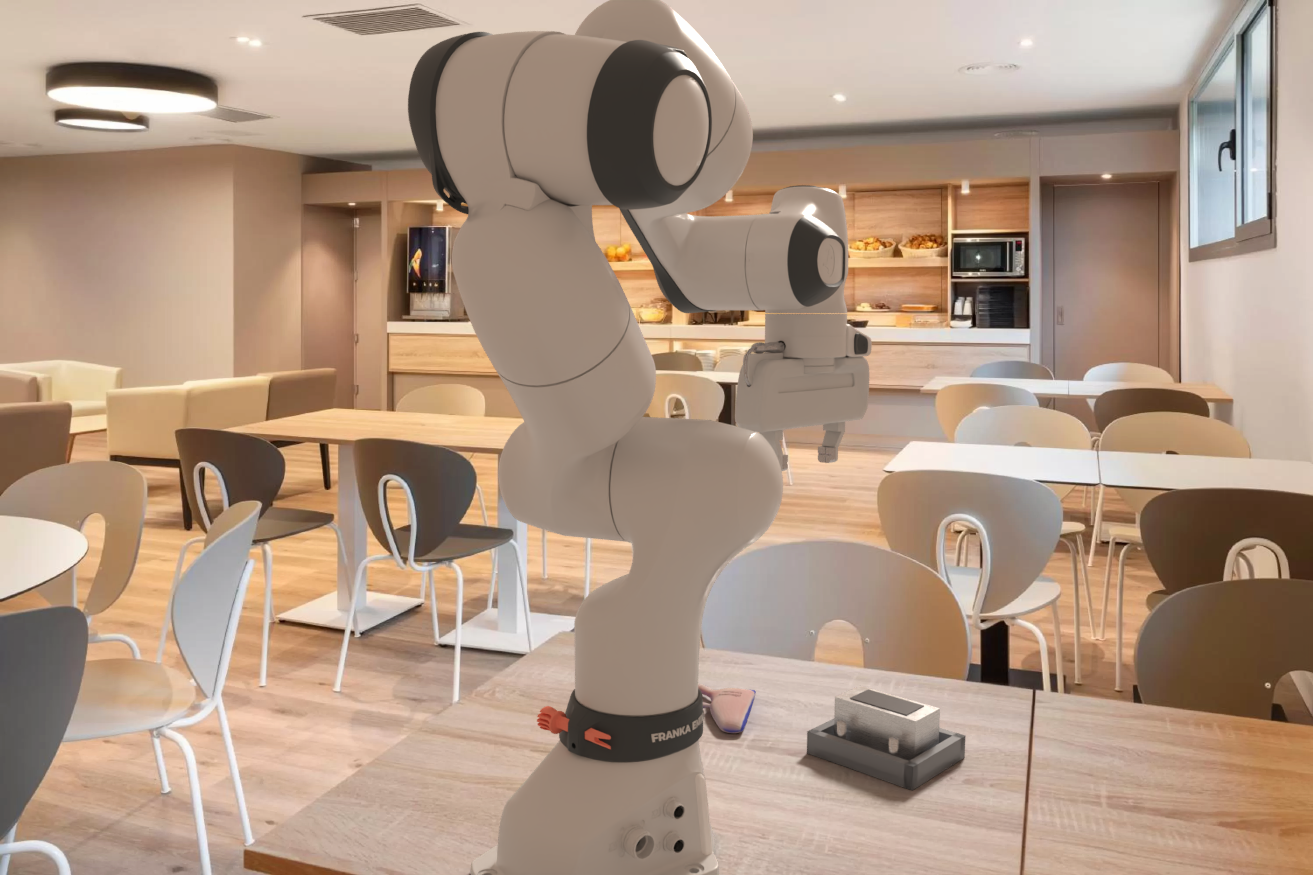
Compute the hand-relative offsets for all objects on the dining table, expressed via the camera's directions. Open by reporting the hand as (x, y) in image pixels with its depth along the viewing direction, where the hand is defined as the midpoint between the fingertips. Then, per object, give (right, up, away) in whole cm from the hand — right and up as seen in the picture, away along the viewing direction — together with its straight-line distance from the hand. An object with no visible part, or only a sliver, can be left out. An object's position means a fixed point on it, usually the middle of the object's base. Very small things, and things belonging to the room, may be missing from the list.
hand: (803, 466), depth 117 cm
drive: (+9, -31, -1) cm, 32 cm away
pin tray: (+9, -32, -1) cm, 33 cm away
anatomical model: (-15, -30, +13) cm, 36 cm away
